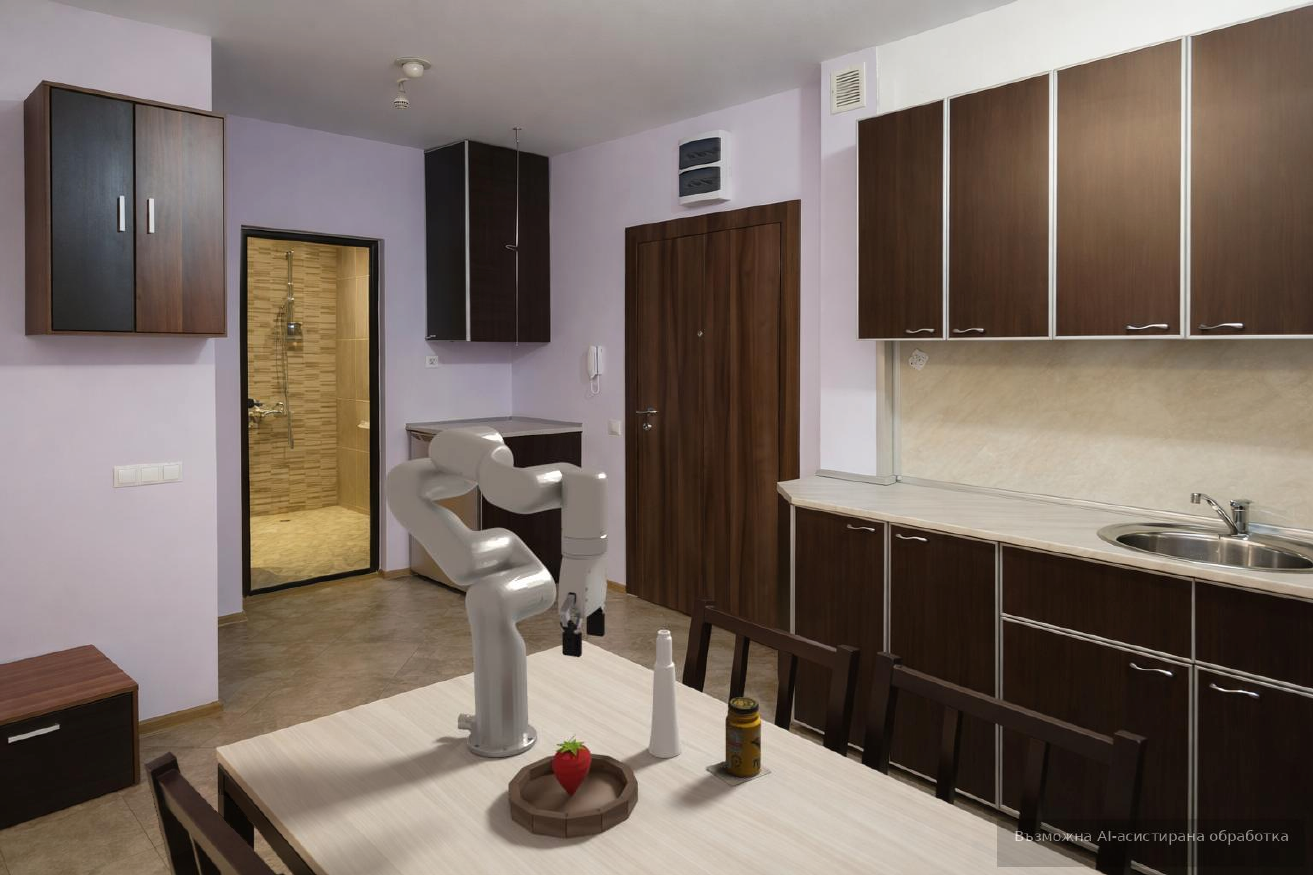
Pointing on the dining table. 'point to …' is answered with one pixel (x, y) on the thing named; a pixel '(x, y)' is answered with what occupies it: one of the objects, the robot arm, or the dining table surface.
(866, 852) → the dining table surface
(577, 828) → the tray
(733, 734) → the condiment
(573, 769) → the strawberry
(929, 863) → the dining table surface
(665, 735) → the cosmetic bottle
